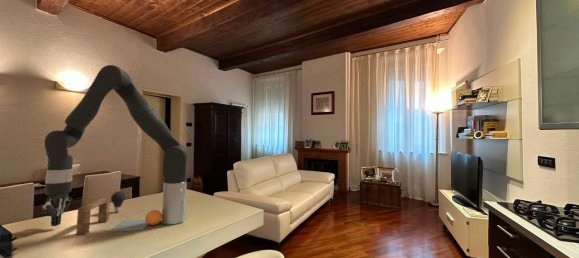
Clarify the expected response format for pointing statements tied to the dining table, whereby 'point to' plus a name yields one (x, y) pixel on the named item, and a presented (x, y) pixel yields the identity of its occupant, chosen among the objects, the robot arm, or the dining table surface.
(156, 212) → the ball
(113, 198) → the light bulb
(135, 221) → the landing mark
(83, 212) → the bridge
